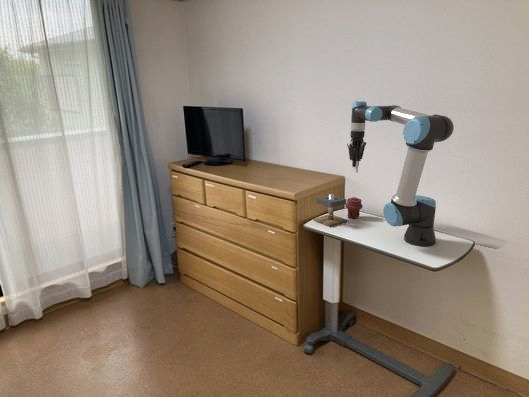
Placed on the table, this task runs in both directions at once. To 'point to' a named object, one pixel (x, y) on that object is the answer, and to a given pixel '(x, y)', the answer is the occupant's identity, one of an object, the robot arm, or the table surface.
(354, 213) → the mechanical component
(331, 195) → the post
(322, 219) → the base
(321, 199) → the collar
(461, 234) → the table surface
